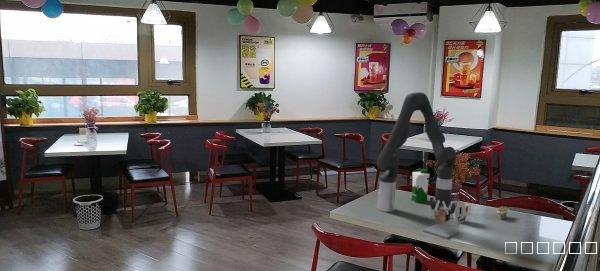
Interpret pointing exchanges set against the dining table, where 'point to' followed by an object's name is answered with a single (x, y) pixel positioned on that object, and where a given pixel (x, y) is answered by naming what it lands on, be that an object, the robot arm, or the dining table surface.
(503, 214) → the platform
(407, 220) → the dining table surface
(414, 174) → the milk carton
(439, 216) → the walnut cube
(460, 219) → the cup
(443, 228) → the grey mat
